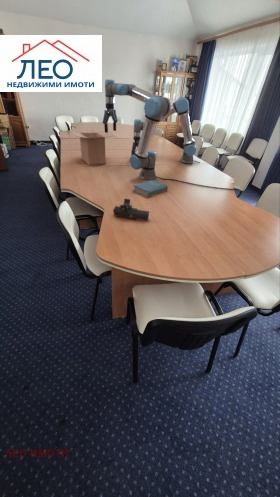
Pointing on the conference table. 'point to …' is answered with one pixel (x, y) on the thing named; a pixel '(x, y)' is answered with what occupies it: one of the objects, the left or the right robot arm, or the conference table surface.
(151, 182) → the book
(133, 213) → the laser sight
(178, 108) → the right robot arm
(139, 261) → the conference table surface
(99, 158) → the box
